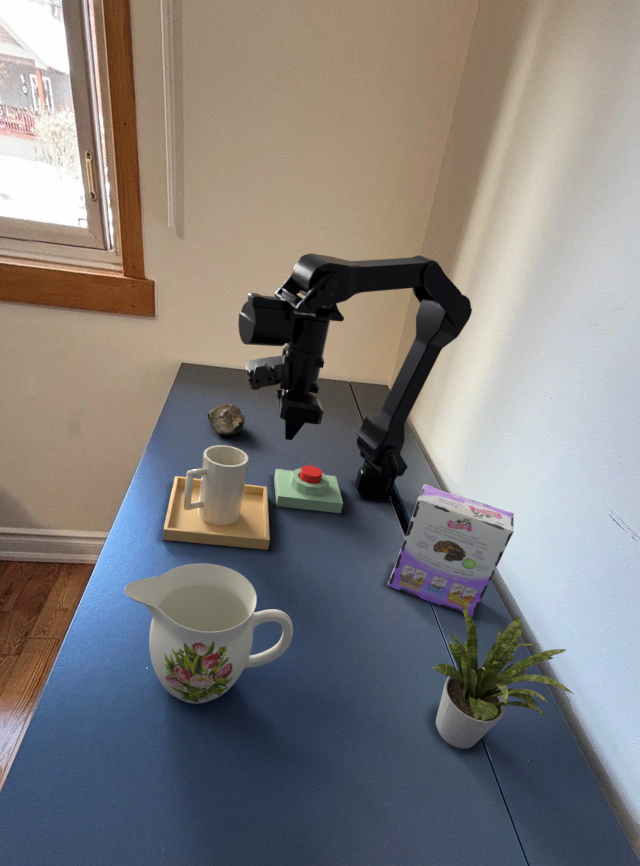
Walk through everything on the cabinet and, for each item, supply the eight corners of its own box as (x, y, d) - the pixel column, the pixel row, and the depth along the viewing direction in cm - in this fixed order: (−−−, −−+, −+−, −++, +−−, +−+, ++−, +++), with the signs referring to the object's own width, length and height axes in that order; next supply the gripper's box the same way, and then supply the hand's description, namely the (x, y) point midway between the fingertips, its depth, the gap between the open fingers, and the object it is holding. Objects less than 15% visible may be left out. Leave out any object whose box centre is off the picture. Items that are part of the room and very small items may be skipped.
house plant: (529, 815, 57) (605, 720, 48) (402, 778, 57) (453, 677, 48) (511, 706, 69) (569, 614, 60) (406, 676, 69) (448, 581, 60)
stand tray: (265, 495, 98) (266, 486, 97) (267, 549, 85) (269, 539, 84) (174, 485, 95) (175, 475, 94) (162, 539, 82) (163, 529, 81)
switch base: (333, 485, 107) (338, 468, 105) (340, 513, 99) (345, 495, 97) (274, 478, 104) (277, 460, 102) (276, 506, 96) (279, 487, 94)
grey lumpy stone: (247, 432, 113) (248, 420, 122) (234, 403, 110) (236, 393, 119) (214, 445, 114) (218, 432, 123) (200, 416, 111) (205, 405, 120)
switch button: (319, 475, 102) (321, 467, 101) (321, 485, 98) (323, 477, 97) (298, 472, 101) (300, 464, 100) (300, 483, 98) (302, 474, 97)
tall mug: (226, 499, 94) (233, 442, 88) (247, 520, 90) (256, 462, 84) (173, 510, 88) (177, 451, 82) (193, 533, 84) (198, 473, 78)
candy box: (475, 596, 86) (516, 512, 77) (472, 619, 81) (515, 532, 72) (394, 566, 88) (424, 481, 80) (386, 586, 84) (417, 498, 75)
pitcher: (287, 717, 60) (311, 631, 53) (118, 723, 56) (117, 629, 48) (276, 643, 69) (295, 561, 62) (128, 643, 64) (130, 553, 57)
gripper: (252, 321, 88) (240, 410, 96) (253, 357, 72) (239, 459, 81) (318, 333, 90) (301, 418, 98) (333, 371, 75) (311, 468, 83)
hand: (288, 439), depth 90 cm, fingers closed
